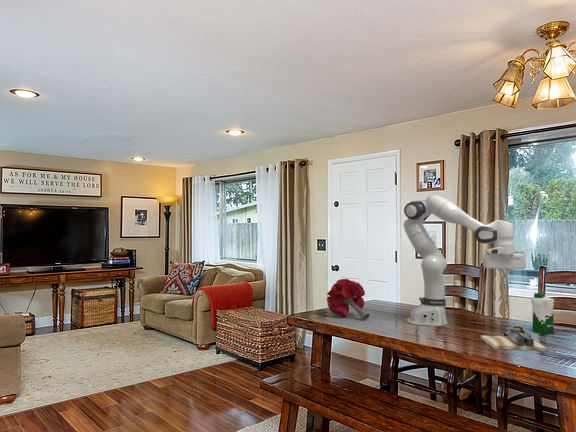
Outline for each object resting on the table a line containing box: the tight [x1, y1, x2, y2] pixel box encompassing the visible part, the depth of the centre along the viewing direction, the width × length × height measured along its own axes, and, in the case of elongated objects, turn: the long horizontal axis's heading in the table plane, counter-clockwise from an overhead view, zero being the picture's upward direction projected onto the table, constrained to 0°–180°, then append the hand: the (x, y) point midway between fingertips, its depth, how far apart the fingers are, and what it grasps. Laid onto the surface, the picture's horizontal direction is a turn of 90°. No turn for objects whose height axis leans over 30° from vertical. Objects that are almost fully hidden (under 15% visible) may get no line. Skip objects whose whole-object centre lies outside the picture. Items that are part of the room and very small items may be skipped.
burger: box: [503, 321, 532, 338], centre depth 209 cm, size 12×12×8 cm
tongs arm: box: [508, 332, 525, 346], centre depth 192 cm, size 13×3×3 cm, turn 170°
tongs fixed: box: [505, 327, 535, 346], centre depth 194 cm, size 16×6×5 cm, turn 173°
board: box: [480, 335, 548, 352], centre depth 194 cm, size 22×18×2 cm
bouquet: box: [326, 278, 371, 321], centre depth 252 cm, size 21×23×30 cm
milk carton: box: [530, 292, 555, 335], centre depth 218 cm, size 9×9×20 cm
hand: (504, 277), depth 214 cm, fingers closed
